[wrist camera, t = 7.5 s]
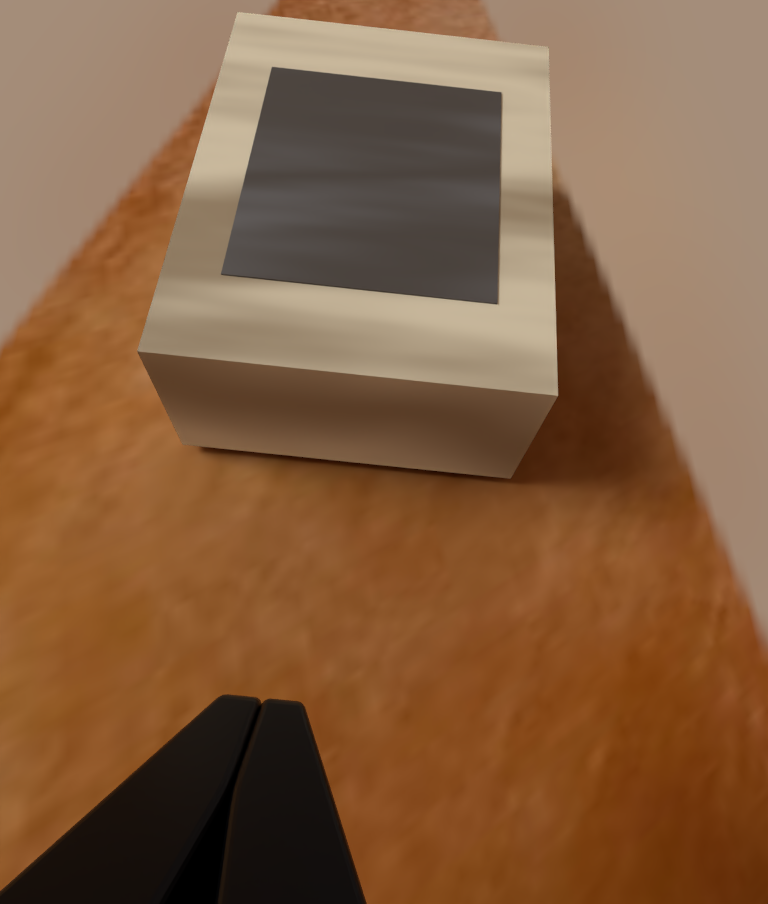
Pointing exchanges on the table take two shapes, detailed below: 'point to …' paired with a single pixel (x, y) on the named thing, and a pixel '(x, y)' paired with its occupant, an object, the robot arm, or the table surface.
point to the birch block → (364, 252)
